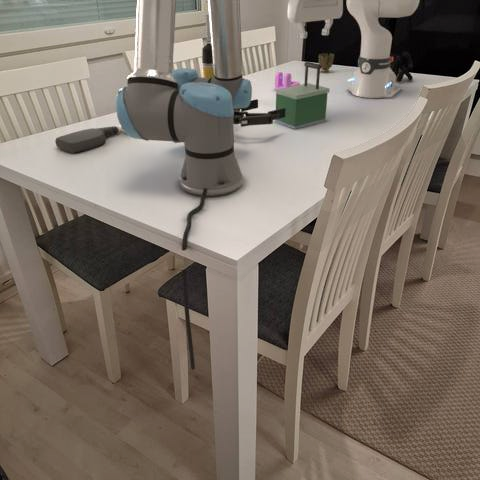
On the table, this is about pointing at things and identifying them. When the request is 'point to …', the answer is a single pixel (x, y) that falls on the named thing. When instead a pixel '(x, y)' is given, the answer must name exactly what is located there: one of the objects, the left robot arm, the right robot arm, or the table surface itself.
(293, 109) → the chest
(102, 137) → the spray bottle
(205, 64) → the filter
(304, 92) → the lid
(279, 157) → the table surface
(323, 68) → the cup
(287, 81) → the bracket
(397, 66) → the squiggle
